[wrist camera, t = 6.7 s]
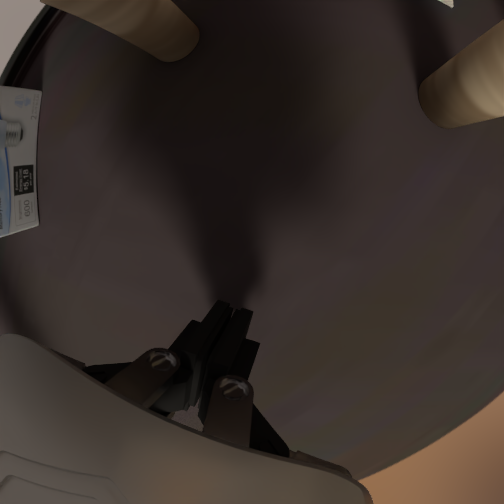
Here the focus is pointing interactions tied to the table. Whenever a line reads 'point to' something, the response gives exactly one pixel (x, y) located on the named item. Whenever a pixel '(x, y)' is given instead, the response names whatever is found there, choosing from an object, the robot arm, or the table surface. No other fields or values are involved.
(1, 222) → the light bulb box
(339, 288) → the table surface
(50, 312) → the table surface
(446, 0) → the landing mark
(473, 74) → the post
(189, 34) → the post
